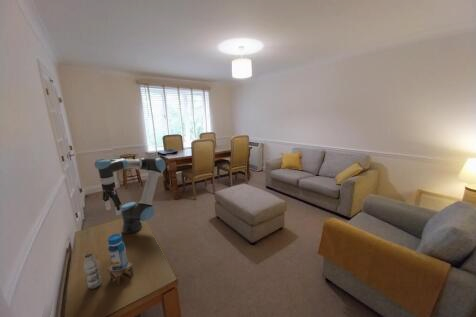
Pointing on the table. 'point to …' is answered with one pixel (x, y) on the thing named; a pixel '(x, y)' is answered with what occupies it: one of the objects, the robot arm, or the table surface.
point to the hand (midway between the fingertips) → (113, 211)
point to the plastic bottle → (92, 271)
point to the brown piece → (120, 272)
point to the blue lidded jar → (117, 252)
